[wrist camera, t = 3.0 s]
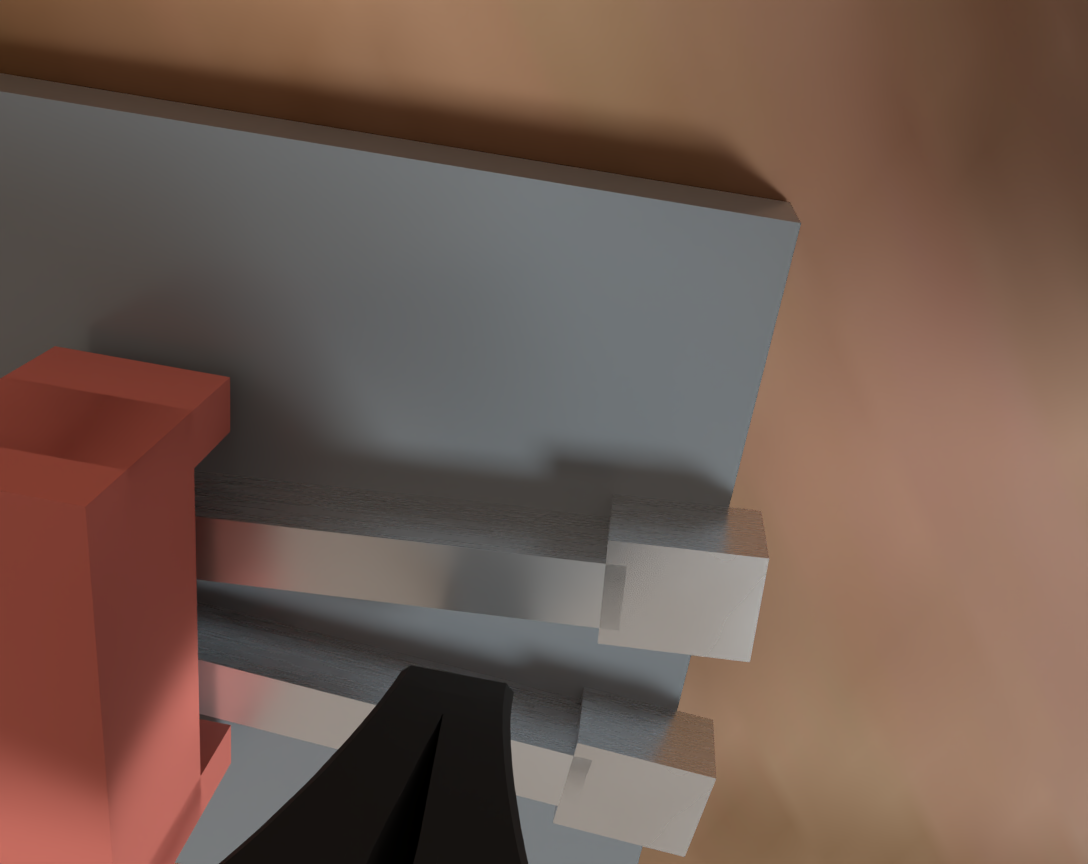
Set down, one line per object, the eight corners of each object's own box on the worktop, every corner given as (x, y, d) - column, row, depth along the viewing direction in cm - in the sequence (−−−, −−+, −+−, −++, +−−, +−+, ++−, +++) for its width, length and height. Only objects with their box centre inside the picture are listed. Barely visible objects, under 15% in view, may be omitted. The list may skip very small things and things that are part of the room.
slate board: (790, 202, 13) (800, 222, 11) (618, 894, 18) (615, 951, 17) (-641, -32, 14) (-756, -34, 12) (-385, 693, 19) (-448, 735, 18)
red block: (230, 377, 13) (85, 506, 10) (230, 762, 16) (120, 958, 13) (54, 346, 13) (-145, 463, 10) (88, 734, 16) (-58, 921, 13)
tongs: (770, 512, 13) (780, 568, 12) (691, 796, 15) (693, 869, 14) (-644, 258, 14) (-773, 285, 13) (-523, 560, 16) (-623, 608, 15)
